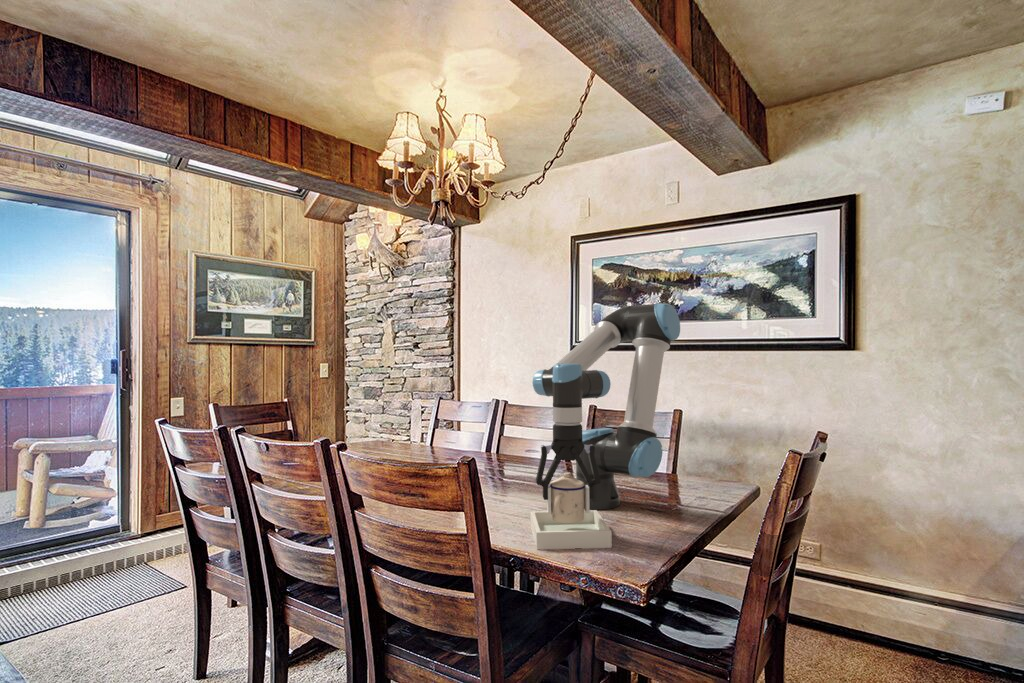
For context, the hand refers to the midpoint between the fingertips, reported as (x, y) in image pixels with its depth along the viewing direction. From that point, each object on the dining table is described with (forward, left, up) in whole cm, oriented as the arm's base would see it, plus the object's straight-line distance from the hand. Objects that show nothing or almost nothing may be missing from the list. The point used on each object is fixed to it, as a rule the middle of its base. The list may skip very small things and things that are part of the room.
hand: (568, 512), depth 139 cm
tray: (0, 0, -6) cm, 6 cm away
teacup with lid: (+1, 0, -2) cm, 2 cm away
